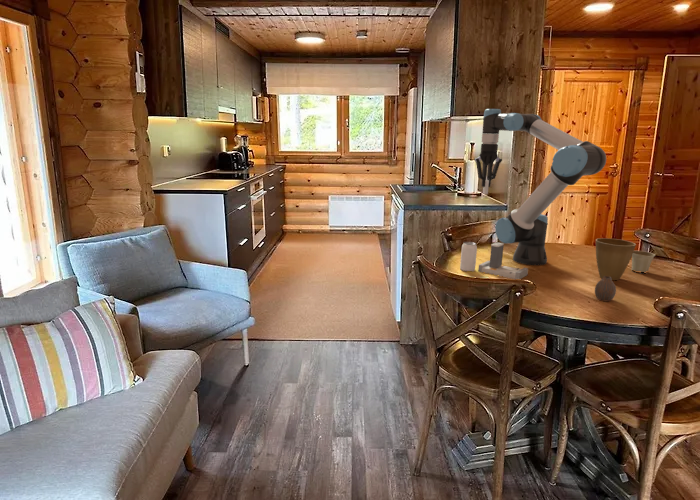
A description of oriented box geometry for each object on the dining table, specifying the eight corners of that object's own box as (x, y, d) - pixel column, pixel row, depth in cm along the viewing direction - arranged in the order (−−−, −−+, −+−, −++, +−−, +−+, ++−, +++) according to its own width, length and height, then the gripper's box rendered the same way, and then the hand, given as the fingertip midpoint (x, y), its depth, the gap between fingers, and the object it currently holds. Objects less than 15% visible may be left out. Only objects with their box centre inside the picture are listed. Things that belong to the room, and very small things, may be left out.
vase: (589, 296, 185) (593, 274, 183) (607, 296, 186) (610, 274, 184) (600, 302, 178) (603, 279, 176) (618, 302, 179) (622, 279, 177)
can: (475, 272, 213) (477, 245, 210) (460, 271, 214) (462, 244, 211) (474, 268, 219) (477, 242, 216) (459, 267, 220) (462, 241, 217)
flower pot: (650, 270, 222) (653, 252, 220) (653, 276, 214) (656, 256, 212) (626, 267, 226) (630, 249, 224) (628, 273, 217) (631, 254, 215)
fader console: (527, 274, 211) (528, 268, 210) (518, 280, 203) (519, 273, 202) (487, 266, 222) (488, 260, 221) (478, 271, 214) (478, 264, 213)
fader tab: (501, 268, 216) (504, 243, 213) (495, 271, 211) (498, 245, 208) (494, 267, 218) (497, 242, 215) (488, 270, 213) (491, 244, 210)
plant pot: (632, 285, 200) (639, 247, 196) (592, 280, 205) (597, 243, 201) (626, 275, 213) (632, 239, 209) (588, 271, 218) (594, 236, 214)
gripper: (499, 143, 234) (495, 192, 239) (473, 142, 232) (469, 192, 238) (506, 143, 226) (501, 194, 232) (479, 143, 225) (474, 194, 231)
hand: (485, 193), depth 235 cm, fingers closed
